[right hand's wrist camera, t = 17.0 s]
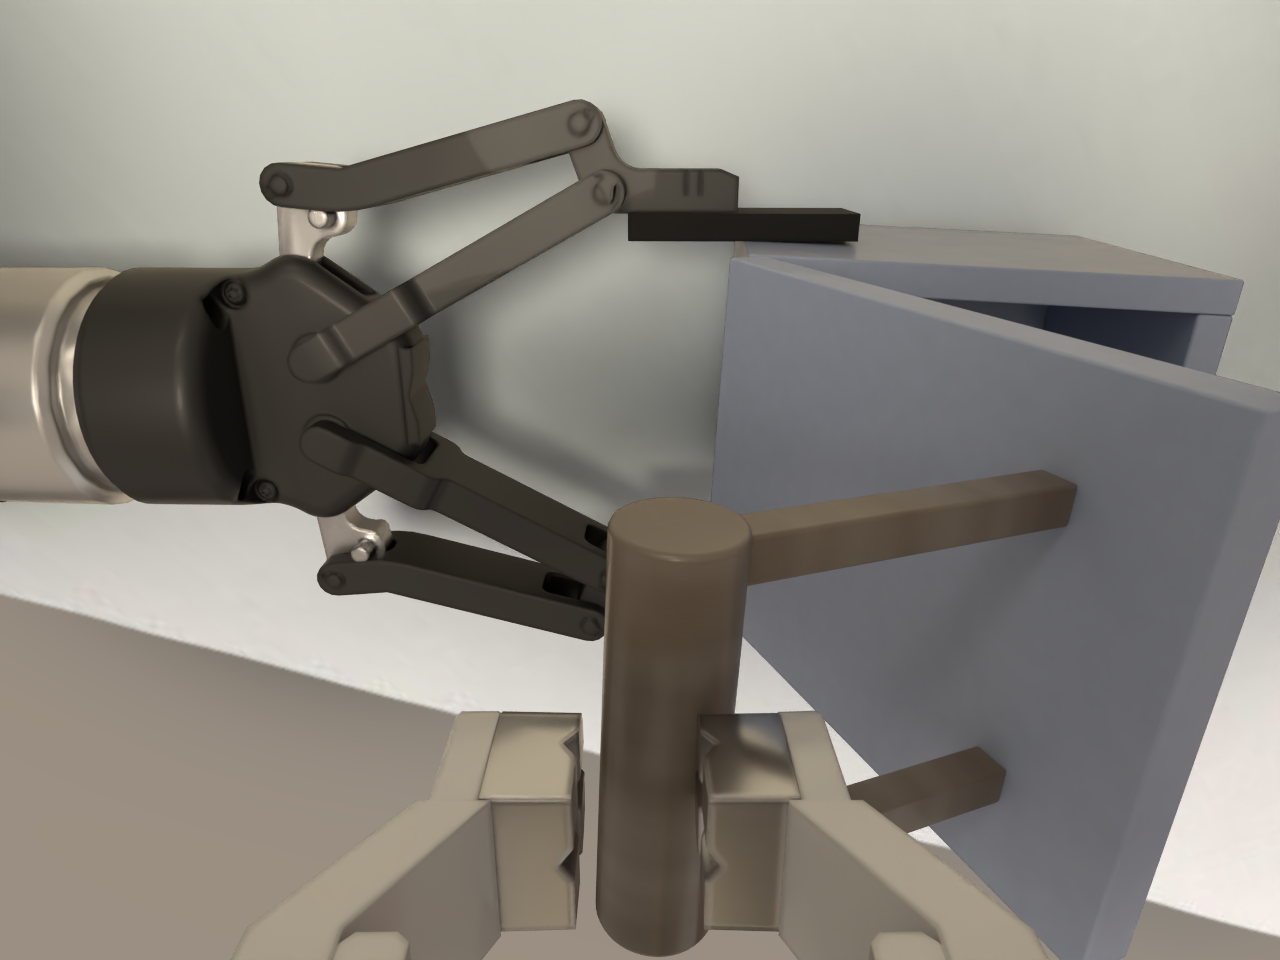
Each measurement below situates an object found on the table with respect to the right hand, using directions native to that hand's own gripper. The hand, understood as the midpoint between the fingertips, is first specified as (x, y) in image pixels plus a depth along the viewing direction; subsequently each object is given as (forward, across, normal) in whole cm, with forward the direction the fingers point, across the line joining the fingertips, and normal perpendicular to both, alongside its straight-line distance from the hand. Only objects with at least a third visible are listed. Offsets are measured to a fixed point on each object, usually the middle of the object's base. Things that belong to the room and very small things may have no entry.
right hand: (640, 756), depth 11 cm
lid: (+7, +6, 0) cm, 9 cm away
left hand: (+18, +6, 0) cm, 19 cm away
